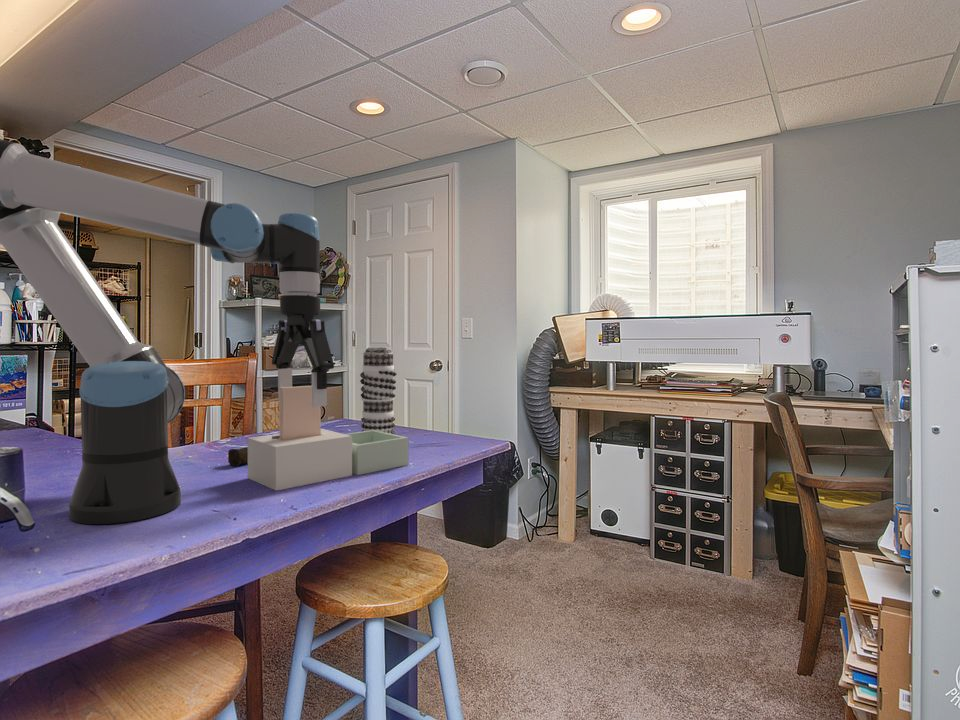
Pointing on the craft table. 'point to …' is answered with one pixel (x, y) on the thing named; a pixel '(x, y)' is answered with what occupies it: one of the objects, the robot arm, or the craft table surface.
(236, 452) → the hand tool
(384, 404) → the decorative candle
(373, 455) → the bin
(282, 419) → the ticket
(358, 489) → the craft table surface
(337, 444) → the dispenser
